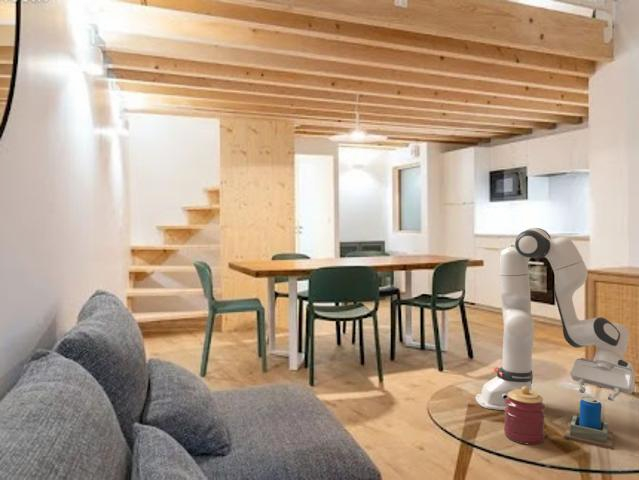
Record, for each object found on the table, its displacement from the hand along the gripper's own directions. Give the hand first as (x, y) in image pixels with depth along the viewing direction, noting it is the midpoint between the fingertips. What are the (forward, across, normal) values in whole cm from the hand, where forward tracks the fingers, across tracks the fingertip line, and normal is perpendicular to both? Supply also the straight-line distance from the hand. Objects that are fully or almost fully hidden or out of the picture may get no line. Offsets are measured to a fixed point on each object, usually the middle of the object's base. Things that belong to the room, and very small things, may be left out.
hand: (595, 395), depth 175 cm
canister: (+26, -14, -7) cm, 31 cm away
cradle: (+13, 0, +5) cm, 14 cm away
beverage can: (+13, +1, +4) cm, 13 cm away
